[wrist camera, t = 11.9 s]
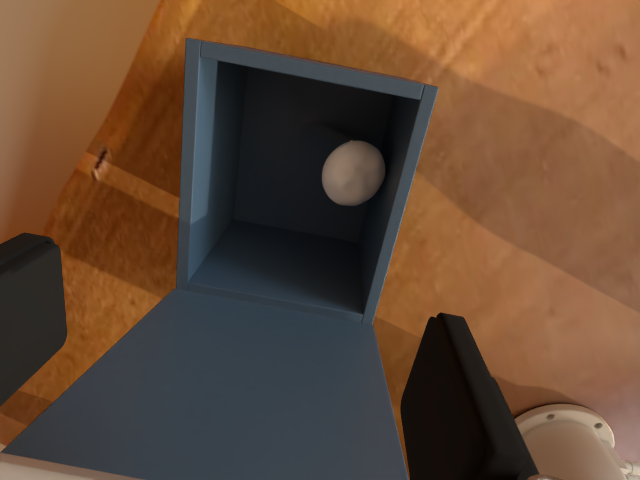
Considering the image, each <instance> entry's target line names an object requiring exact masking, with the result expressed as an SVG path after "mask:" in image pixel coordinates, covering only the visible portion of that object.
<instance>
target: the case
mask: <svg viewBox="0 0 640 480" xmlns="http://www.w3.org/2000/svg"><path fill="white" fill-rule="evenodd" d="M438 89H439V88H438V87H435V86H432V85H428V84H424V83H421V82H417V81H414V80H410V79H406V78H401V77H396V76H391V75H386V74H381V73H376V72H371V71H366V70H361V69H355V68H350V67H345V66H340V65H335V64H330V63H325V62H320V61H315V60H310V59H305V58H299V57H294V56H289V55H284V54H279V53H274V52H269V51H264V50H259V49H254V48H248V47H243V46H237V45H230V44H224V43H217V42H210V41H204V40H197V39H191V38H186V47H185V73H184V98H183V124H182V149H181V175H180V200H179V226H178V251H177V276H176V289H179V290H184V291H189V292H195V293H200V294H206V295H211V296H217V297H222V298H227V299H233V300H238V301H244V302H249V303H255V304H260V305H265V306H271V307H276V308H282V309H287V310H293V311H298V312H303V313H309V314H314V315H320V316H325V317H330V318H336V319H341V320H347V321H352V322H358V323H363V324H368V325H372V324H373V321H374V317H375V314H376V310H377V306H378V303H379V299H380V296H381V292H382V289H383V285H384V282H385V278H386V274H387V271H388V267H389V264H390V260H391V257H392V253H393V249H394V246H395V242H396V239H397V235H398V232H399V228H400V224H401V221H402V217H403V214H404V210H405V207H406V203H407V200H408V196H409V192H410V189H411V185H412V182H413V178H414V175H415V171H416V167H417V164H418V160H419V157H420V153H421V150H422V146H423V143H424V139H425V135H426V132H427V128H428V125H429V121H430V118H431V114H432V110H433V107H434V103H435V100H436V96H437V93H438ZM321 125H322V126H325V127H327V128H330V129H332V130H334V131H337V132H339V133H341V134H344V135H346V136H349V137H352V138H355V139H358V140H361V141H364V142H367V143H369V144H371V145H373V146H374V147H376V148H377V149H378V150H379V151H380V153H381V154H382V157H383V160H384V163H385V178H384V181H383V183H382V184H381V186H380V188H379V189H378V191H377V192H376V193H375V194H374V196H372V197H371V198H370V199H368V200H367V201H365V202H363V203H361V204H359V205H355V206H347V205H339V204H337V203H335V202H334V201H333V200H331V199H330V198H329V197H328V195H327V194H326V192H325V190H324V189H323V187H322V185H321V184H320V182H319V180H318V178H317V177H316V175H315V174H314V173H313V171H312V170H311V168H310V167H309V165H308V164H307V162H306V161H305V160H304V157H303V155H302V153H301V151H300V149H299V147H300V142H301V136H302V135H303V134H304V133H305V132H306V131H307V130H308V129H309V128H310V127H316V126H321Z"/></svg>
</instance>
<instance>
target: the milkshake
mask: <svg viewBox="0 0 640 480" xmlns="http://www.w3.org/2000/svg"><path fill="white" fill-rule="evenodd" d="M299 149H300V151H301V153H302V155H303V157H304V160H305V161H306V162H307V164H308V165H309V167H310V168H311V170H312V171H313V173H314V174H315V175H316V177H317V178H318V180H319V182H320V184H321V185H322V187H323V189H324V190H325V192H326V194H327V195H328V197H329V198H330V199H331V200H333V201H334V202H335V203H337V204H339V205H347V206H355V205H359V204H361V203H363V202H365V201H367V200H368V199H370V198H371V197H372V196H374V194H375V193H376V192H377V191H378V189H379V188H380V186H381V184H382V183H383V181H384V178H385V163H384V160H383V157H382V154H381V153H380V151H379V150H378V149H377V148H376V147H374V146H373V145H371V144H369V143H367V142H364V141H361V140H358V139H355V138H352V137H349V136H346V135H344V134H341V133H339V132H337V131H334V130H332V129H330V128H327V127H325V126H322V125H321V126H316V127H310V128H309V129H308V130H307V131H306V132H305V133H304V134H303V135H302V136H301V142H300V147H299Z"/></svg>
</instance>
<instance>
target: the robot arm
mask: <svg viewBox="0 0 640 480" xmlns="http://www.w3.org/2000/svg"><path fill="white" fill-rule="evenodd" d="M66 337H67V325H66V313H65V301H64V289H63V277H62V265H61V252H60V248H59V246H58V245H56V244H55V242H54V241H53V239H51V238H50V237H45V236H40V235H35V234H30V233H22V234H20V235H18V236H16V237H14V238H12V239H10V240H8V241H6V242H4V243H2V244H0V406H1V405H2V404H3V403H4V402H6V401H7V400H8V399H9V398H10V397H11V396H12V395H13V394H14V393H15V392H16V391H17V390H18V389H19V388H20V387H21V386H22V385H23V384H24V383H25V382H26V381H27V380H28V379H29V378H30V377H31V376H32V375H34V374H35V373H36V372H37V371H38V370H39V369H40V368H41V367H42V366H43V365H44V364H45V363H46V362H47V361H48V360H49V359H50V358H51V357H52V356H53V355H54V354H55V353H56V352H57V351H58V350H59V349H60V348H61V347H62V346H63V345H64V343H65V340H66ZM401 419H402V426H403V432H404V439H405V446H406V453H407V460H408V467H409V474H410V480H640V477H637V476H640V463H638V462H632V461H627V460H626V461H623V460H622V459H621V458H620V457H619V456H618V454H617V453H616V451H615V450H614V444H615V442H614V435H613V433H612V430H611V428H610V427H609V426H608V424H607V423H606V422H605V420H604V419H603V418H602V417H601V416H600V415H599V414H597V413H596V412H594V411H592V410H590V409H588V408H585V407H582V406H578V405H572V404H553V405H546V406H542V407H538V408H535V409H532V410H530V411H527V412H525V413H524V414H522V415H520V416H518V417H517V418H516V419H514V418H513V416H512V414H511V411H510V409H509V407H508V405H507V403H506V401H505V399H504V396H503V394H502V392H501V390H500V388H499V386H498V384H497V382H496V380H495V379H494V378H493V377H491V376H490V373H489V371H488V369H487V367H486V365H485V362H484V360H483V358H482V356H481V354H480V351H479V349H478V347H477V345H476V343H475V340H474V338H473V336H472V334H471V332H470V329H469V327H468V325H467V323H466V321H465V319H464V318H463V317H461V316H456V315H450V314H445V313H439V314H438V315H437V317H436V318H435V317H430V318H429V320H428V323H427V326H426V329H425V331H424V334H423V337H422V340H421V343H420V346H419V349H418V352H417V355H416V358H415V361H414V364H413V367H412V370H411V372H410V375H409V378H408V381H407V384H406V387H405V390H404V393H403V396H402V400H401ZM626 473H627V474H631V475H626ZM632 475H637V476H632ZM0 480H143V479H138V478H133V477H128V476H122V475H117V474H112V473H107V472H101V471H96V470H91V469H85V468H80V467H75V466H69V465H64V464H59V463H53V462H48V461H43V460H37V459H32V458H27V457H21V456H16V455H10V454H5V453H0Z"/></svg>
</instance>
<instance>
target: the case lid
mask: <svg viewBox="0 0 640 480" xmlns="http://www.w3.org/2000/svg"><path fill="white" fill-rule="evenodd" d="M0 453H5V454H10V455H16V456H21V457H27V458H32V459H37V460H43V461H48V462H53V463H59V464H64V465H69V466H75V467H80V468H85V469H91V470H96V471H101V472H107V473H112V474H117V475H122V476H128V477H133V478H138V479H143V480H409V479H408V474H407V470H406V466H405V461H404V457H403V452H402V448H401V444H400V439H399V435H398V431H397V426H396V422H395V417H394V413H393V409H392V404H391V400H390V396H389V391H388V387H387V382H386V378H385V374H384V369H383V365H382V361H381V356H380V352H379V347H378V343H377V339H376V334H375V330H374V326H373V325H368V324H363V323H358V322H352V321H347V320H341V319H336V318H330V317H325V316H320V315H314V314H309V313H303V312H298V311H293V310H287V309H282V308H276V307H271V306H265V305H260V304H255V303H249V302H244V301H238V300H233V299H227V298H222V297H217V296H211V295H206V294H200V293H195V292H189V291H184V290H179V289H173V290H172V291H171V292H170V293H169V294H168V295H167V296H165V297H164V298H163V299H162V300H161V301H160V302H159V303H158V304H157V305H156V306H155V307H154V308H153V309H152V310H151V311H150V312H149V313H147V314H146V315H145V316H144V317H143V318H142V319H141V320H140V321H139V322H138V323H137V324H136V325H135V326H134V327H133V328H132V329H131V330H129V331H128V332H127V333H126V334H125V335H124V336H123V337H122V338H121V339H120V340H119V341H118V342H117V343H116V344H115V345H114V346H113V347H111V348H110V349H109V350H108V351H107V352H106V353H105V354H104V355H103V356H102V357H101V358H100V359H99V360H98V361H97V362H96V363H95V364H93V365H92V366H91V367H90V368H89V369H88V370H87V371H86V372H85V373H84V374H83V375H82V376H81V377H80V378H79V379H78V380H77V381H75V382H74V383H73V384H72V385H71V386H70V387H69V388H68V389H67V390H66V391H65V392H64V393H63V394H62V395H61V396H60V397H59V398H57V399H56V400H55V401H54V402H53V403H52V404H51V405H50V406H49V407H48V408H47V409H46V410H45V411H44V412H43V413H42V414H41V415H39V416H38V417H37V418H36V419H35V420H34V421H33V422H32V423H31V424H30V425H29V426H28V427H27V428H26V429H25V430H24V431H23V432H21V433H20V434H19V435H18V436H17V437H16V438H15V439H14V440H13V441H12V442H11V443H10V444H9V445H8V446H7V447H6V448H5V449H3V450H2V451H1V452H0Z"/></svg>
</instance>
